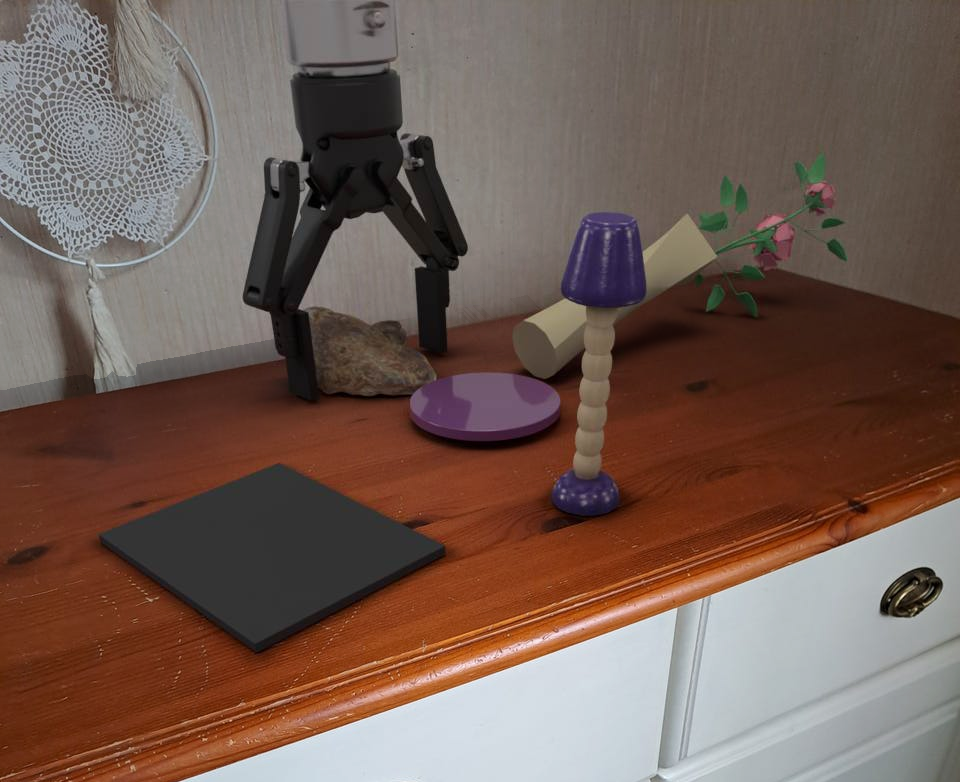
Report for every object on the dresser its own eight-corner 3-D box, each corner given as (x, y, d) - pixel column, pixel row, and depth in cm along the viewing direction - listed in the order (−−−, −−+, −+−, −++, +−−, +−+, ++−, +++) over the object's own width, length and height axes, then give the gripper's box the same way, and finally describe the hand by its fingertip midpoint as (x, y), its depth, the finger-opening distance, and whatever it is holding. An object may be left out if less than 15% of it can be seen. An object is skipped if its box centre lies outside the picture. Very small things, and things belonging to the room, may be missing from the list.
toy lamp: (623, 484, 62) (644, 205, 52) (633, 519, 58) (659, 226, 49) (548, 485, 62) (556, 207, 52) (554, 521, 58) (564, 228, 49)
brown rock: (333, 412, 73) (325, 347, 70) (283, 360, 82) (275, 301, 79) (448, 389, 76) (445, 326, 73) (388, 342, 85) (384, 284, 82)
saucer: (379, 419, 71) (378, 401, 70) (484, 378, 78) (483, 361, 77) (486, 464, 65) (486, 444, 64) (591, 415, 71) (592, 397, 70)
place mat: (100, 542, 57) (97, 533, 57) (280, 470, 65) (279, 462, 64) (256, 653, 48) (254, 643, 48) (445, 554, 56) (445, 545, 55)
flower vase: (524, 445, 85) (765, 274, 99) (622, 450, 75) (874, 260, 89) (473, 316, 79) (736, 154, 93) (572, 304, 70) (848, 125, 83)
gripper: (218, 91, 57) (272, 430, 69) (509, 54, 71) (511, 341, 83) (152, 83, 61) (214, 404, 74) (439, 50, 75) (450, 323, 88)
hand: (372, 371), depth 79 cm, fingers open, 13 cm apart
